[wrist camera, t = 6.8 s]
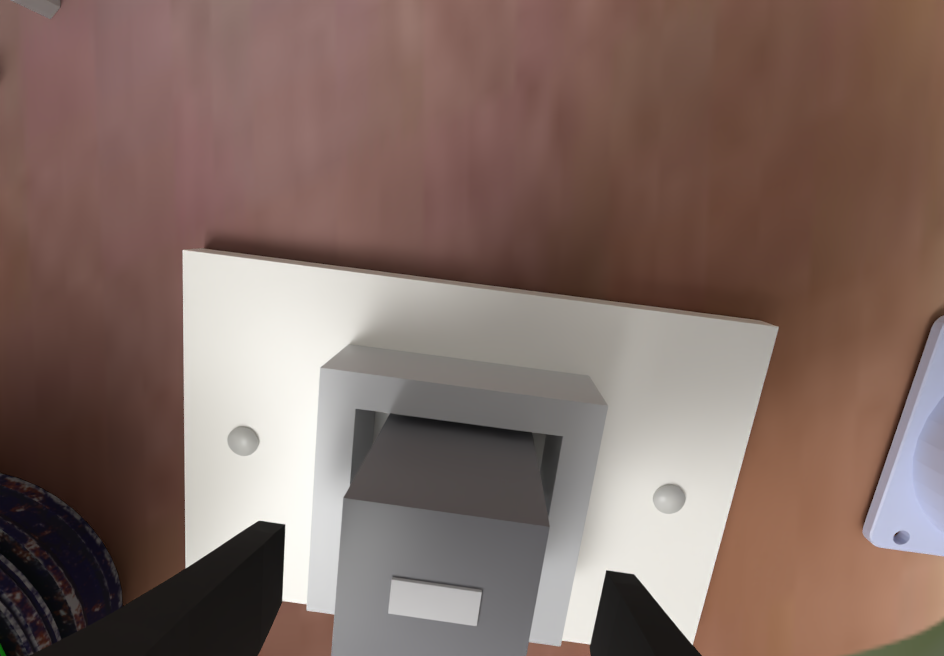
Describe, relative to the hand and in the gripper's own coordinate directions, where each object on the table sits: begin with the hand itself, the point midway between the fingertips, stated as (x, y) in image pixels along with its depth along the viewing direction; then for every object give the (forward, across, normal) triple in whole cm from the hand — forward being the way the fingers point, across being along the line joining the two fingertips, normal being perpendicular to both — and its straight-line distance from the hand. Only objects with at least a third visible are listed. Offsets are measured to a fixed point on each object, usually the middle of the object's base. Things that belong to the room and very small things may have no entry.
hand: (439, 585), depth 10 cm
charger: (+5, 0, 0) cm, 5 cm away
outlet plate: (+6, 0, 0) cm, 6 cm away
